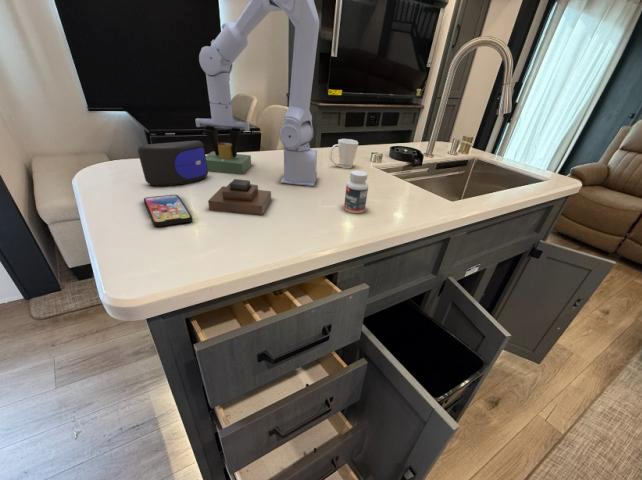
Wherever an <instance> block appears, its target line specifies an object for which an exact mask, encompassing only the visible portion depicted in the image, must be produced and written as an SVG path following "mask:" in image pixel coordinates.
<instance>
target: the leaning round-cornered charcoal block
mask: <svg viewBox="0 0 642 480" xmlns="http://www.w3.org/2000/svg"><path fill="white" fill-rule="evenodd" d="M137 153H138V158H139V161H140V165H141V169H142V172H143V177H144V180H145V182H146V183H147V184H149V185H151V186H155V187H156V186H157V187H166V186H167V187H168V186H179V185H186V184H191V183H196V182H199V181H202V180H204V179H206V178H207V177H208V174H209V171H208V169H207V163H206V156H207V155H206V150H205V145H204V143H203V142H202V141H200V140H185V141H174V142H159V143H149V144H148V143H147V144H141V145H140V146H139V147H137Z"/></svg>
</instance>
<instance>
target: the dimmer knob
mask: <svg viewBox="0 0 642 480" xmlns="http://www.w3.org/2000/svg"><path fill="white" fill-rule="evenodd" d="M217 145H218V153H219V158H222V159H232V158H234V157H233V152H232V143H230V142H218V143H217Z"/></svg>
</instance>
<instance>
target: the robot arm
mask: <svg viewBox="0 0 642 480" xmlns="http://www.w3.org/2000/svg"><path fill="white" fill-rule="evenodd" d="M278 11H283V12H285V14H286V16H287V17H288V18H289V20H290V22H291V23H292V25H293V27H294V39H293V49H292V50H293V53H292V54H293V55H292V62H291V63H292V64H291V76H290V88H289V99H288V108H287V110H286V112H285V114H284V117H283V123H282V125H281V126H280V129H279V133H278V134H279V141H280V143H281V144H282V145H283V176H282V178H281V180H280V183H281V184H287V185H288V184H289V185H297V186H298V185H299V186H309V187H314V186H315V185H316V181H317V178H318V170H317V169H318V167H317V165H318V150H317V149H311V147H310V146H311V145H310V142H311V141H312V140H313V138H314V128H313V122H312V121H313V115H312V113H311V110H310V109H311V101H312V100H311V99H312V89H313V81H314V75H315V74H314V73H315V64H316V55H317V48H318V39H319V32H320V31H319V30H320V18H319V14H318V10H317V7H316V4H315V0H249V1H248V3H247V5H246V6H245V7H244V8H243V10H242V12H241V14H240V15H239V16H238V18H237V20H236V21H235V22H234V21H228V22H223V24H222V25H221V31H220V32H219V34H218V35H217V36H216V37H215V39H212V40H211V41H210V46H208V45H205V46H202V47H201V49H200V52H199V55H198V61H199V65H200V68H201V69H202V71H203V73H205V78H206V85H207V93H208V101H209V107H210V117H211V118H203V117H202V118H199V117H197V118H195V121H194V122H195V127H196V128H204V133H205V135H206V137H207V138H208V140H209V142H210V143H211V146H212V148H213V152H215V154H216V156H218V155H219V153H218V145H217V143H219V131H218V130H219V129H223V130H229V135H230V140H231V144H232V152H233V157H236V156H237V154H238V146H239V141H240V138H241V135H242V132H243V131H245V132H250V130H251V129H250V122H247V121H239V120H234V116H233V106H232V96H231V95H232V94H231V86H230V81H231V78H230V75H231V72H232V70H233V63H234V62H235V61H236V60H237V59H238V57H239V56H240V55H241V54H242V52H243V51H244V50H245V49H246V48H247V47H248V43H249V41H248V36H249V35H250V34H251V33H252V32H253V31H254V30H255V29H256V27H257V26H258V25H259V24H260V23H261V22H262V21H263V20H264V19H265V18H266V17H267V15H268V14H270V13H271V12H278Z"/></svg>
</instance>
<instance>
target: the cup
mask: <svg viewBox="0 0 642 480" xmlns="http://www.w3.org/2000/svg"><path fill="white" fill-rule="evenodd" d="M358 146H359V142H358V140H355V139H352V138H340V139H338V140H337V144H334V145H332V147H331V148H330V151H329V159H330V161H331V162H332V163H333V164H334V165H335V166H336V167H338V168H343V169H351V168H353V164H354V161H355V158H356V155H357V150H358ZM336 147H337V148H338V158H339V159H338V160H339V164H337V163H336V162H334V160H333V158H332V155H333V151H334V149H335V148H336Z"/></svg>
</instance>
